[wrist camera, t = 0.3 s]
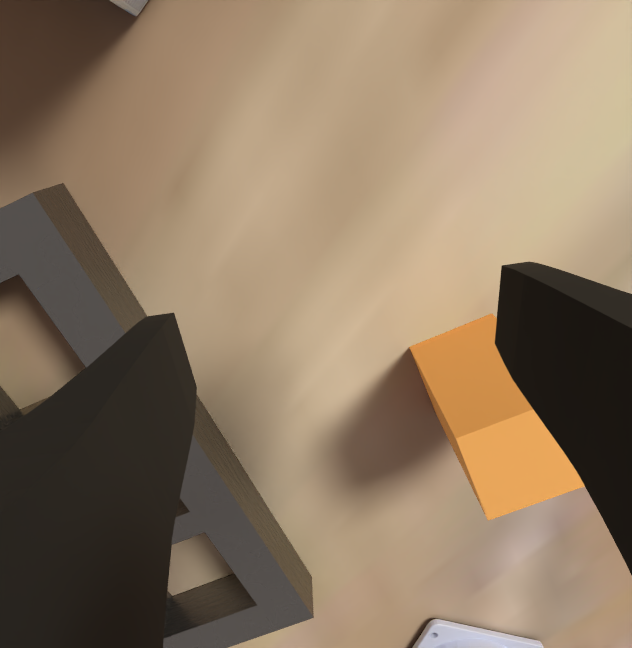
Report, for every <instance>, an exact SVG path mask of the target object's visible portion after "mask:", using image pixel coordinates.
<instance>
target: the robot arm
mask: <svg viewBox="0 0 632 648" xmlns="http://www.w3.org/2000/svg"><path fill="white" fill-rule="evenodd" d="M495 345H496V347H497V349H498V352H499V354H500V356H501V358H502V360H503V362H504V364H505V366H506V368H507V370H508V372H509V374H510V376H511V378H512V379H513V381H514V382H515V384H516V385H517V387H518V388H519V390H520V391H521V393H522V394H523V395H524V397H525V398H526V400H527V401H528V403H529V404H530V405H531V407H532V408H533V410H534V411H535V412H536V414H537V415H538V417H539V418H540V419H541V421H542V422H543V424H544V425H545V426H546V428H547V429H548V431H549V432H550V434H551V435H552V436H553V438H554V439H555V441H556V442H557V443H558V445H559V446H560V448H561V449H562V450H563V452H564V453H565V455H566V456H567V458H568V459H569V461H570V462H571V464H572V465H573V467H574V468H575V470H576V471H577V473H578V475H579V476H580V478H581V480H582V482H583V484H584V485H585V487H586V489H587V491H588V492H589V494H590V496H591V498H592V500H593V501H594V503H595V505H596V507H597V509H598V510H599V512H600V514H601V516H602V518H603V520H604V522H605V524H606V526H607V527H608V529H609V531H610V533H611V535H612V537H613V539H614V541H615V543H616V545H617V547H618V549H619V551H620V553H621V554H622V556H623V558H624V560H625V562H626V564H627V566H628V568H629V571H630V573H631V575H632V294H630V293H626V292H623V291H620V290H617V289H614V288H611V287H609V286H606V285H603V284H600V283H597V282H594V281H591V280H588V279H585V278H582V277H580V276H577V275H574V274H571V273H568V272H565V271H562V270H559V269H556V268H553V267H549V266H546V265H542V264H538V263H534V262H524V263H517V264H510V265H503V266H502V269H501V280H500V291H499V301H498V312H497V323H496V334H495ZM196 390H197V387H196V383H195V380H194V377H193V374H192V370H191V367H190V364H189V360H188V357H187V354H186V351H185V347H184V344H183V341H182V337H181V334H180V331H179V328H178V324H177V321H176V318H175V314H174V313H169V314H162V315H155V316H148V317H145V318H144V319H142V320H141V321H139V322H138V323H137V324H136V325H134V326H133V327H132V328H131V329H130V330H129V331H127V332H126V333H125V334H124V335H123V336H122V337H121V338H119V339H118V340H117V341H116V342H115V343H114V344H113V345H112V346H111V347H109V348H108V349H107V350H106V351H105V352H104V353H103V354H101V355H100V356H99V357H98V358H97V359H96V360H95V361H94V362H92V363H91V364H90V365H89V366H88V367H87V368H85V369H84V370H83V371H82V372H80V373H79V374H78V375H77V376H75V377H74V378H73V379H72V380H71V381H69V382H68V383H67V384H66V385H64V386H63V387H62V388H61V389H59V390H58V391H57V392H56V393H54V394H53V395H52V396H51V397H49V398H48V399H47V400H45V401H44V402H43V403H41V404H40V405H39V406H37V407H36V408H34V409H33V410H32V411H30V412H29V413H27V414H26V415H24V416H23V417H21V418H20V419H18V420H17V421H15V422H14V423H12V424H11V425H9V426H8V427H6V428H5V429H3V430H2V431H0V648H163V639H164V625H165V612H166V600H167V587H168V576H169V566H170V555H171V545H172V536H173V530H174V524H175V517H176V512H177V508H178V503H179V498H180V493H181V489H182V484H183V479H184V474H185V470H186V465H187V460H188V455H189V450H190V446H191V441H192V436H193V430H194V424H195V410H196ZM412 648H544V647H543V645H542V643H541V642H540V641H537V640H533V639H528V638H523V637H519V636H514V635H510V634H505V633H500V632H496V631H491V630H487V629H482V628H477V627H473V626H468V625H463V624H459V623H454V622H450V621H445V620H440V619H433V620H431V621H430V622H429V623H428V625H427V626H426V628H425V629H424V631H423V632H422V634H421V635H420V637H419V638H418V640H417V641H416V643H415V644H414V646H413V647H412Z"/></svg>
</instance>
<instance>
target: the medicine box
mask: <svg viewBox="0 0 632 648" xmlns="http://www.w3.org/2000/svg"><path fill="white" fill-rule="evenodd" d="M110 1H111V2H113V3H114V4H115V5H117V6H119V7H120V8H122V9H124V10H125V11H127V12H128V13H130V14H132V15H133V16H137V15H138V14H139V13H140V12H141V10H142V9H143V7H144V6H145V4H146V3H147V1H148V0H110Z"/></svg>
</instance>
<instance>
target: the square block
mask: <svg viewBox="0 0 632 648" xmlns="http://www.w3.org/2000/svg"><path fill="white" fill-rule="evenodd" d="M496 323H497V318H496V317H495V316H494V315H493V314H489V315H487V316H485V317H482V318H480V319H477V320H475V321H472V322H470V323H467V324H465V325H462V326H460V327H457V328H455V329H453V330H450V331H448V332H445V333H443V334H440V335H438V336H435V337H433V338H430V339H428V340H425V341H423V342H421V343H418V344H416V345H413V346H411V347H409V348H410V350H411V353H412V355H413V358H414V360H415V363H416V365H417V368H418V370H419V372H420V375H421V377H422V380H423V382H424V385H425V387H426V390H427V392H428V395H429V397H430V400H431V402H432V405H433V407H434V410H435V412H436V414H437V417H438V419H439V421H440V423H441V425H442V427H443V429H444V431H445V433H446V435H447V437H448V439H449V441H450V443H451V445H452V447H453V449H454V452H455V454H456V456H457V458H458V460H459V462H460V464H461V466H462V468H463V470H464V472H465V474H466V476H467V478H468V480H469V482H470V485H471V487H472V489H473V491H474V493H475V495H476V497H477V499H478V501H479V503H480V505H481V507H482V509H483V511H484V513H485V515H486V517H487V520H491V519H494V518H497V517H499V516H502V515H505V514H508V513H511V512H513V511H516V510H519V509H522V508H525V507H527V506H530V505H533V504H536V503H539V502H542V501H544V500H547V499H550V498H553V497H556V496H558V495H561V494H564V493H567V492H570V491H573V490H575V489H578V488H581V487H584V486H585V485H584V484H583V482H582V480H581V478H580V476H579V475H578V473H577V471H576V470H575V468H574V467H573V465H572V464H571V462H570V461H569V459H568V458H567V456H566V455H565V453H564V452H563V450H562V449H561V448H560V446H559V445H558V443H557V442H556V441H555V439H554V438H553V436H552V435H551V434H550V432H549V431H548V429H547V428H546V426H545V425H544V424H543V422H542V421H541V419H540V418H539V417H538V415H537V414H536V412H535V411H534V410H533V408H532V407H531V405H530V404H529V403H528V401H527V400H526V398H525V397H524V395H523V394H522V393H521V391H520V390H519V388H518V387H517V385H516V384H515V382H514V381H513V379H512V378H511V376H510V374H509V372H508V370H507V368H506V366H505V364H504V362H503V360H502V358H501V356H500V354H499V352H498V349H497V347H496V345H495V334H496Z"/></svg>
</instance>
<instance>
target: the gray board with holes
mask: <svg viewBox="0 0 632 648" xmlns="http://www.w3.org/2000/svg"><path fill="white" fill-rule="evenodd" d="M18 274H19V275H20V277H21V278H22V279H23V281H24V282H25V284H26V285H27V286H28V288H29V289H30V291H31V292H32V293H33V295H34V296H35V297H36V299H37V300H38V302H39V303H40V304H41V306H42V307H43V309H44V310H45V311H46V313H47V314H48V315H49V317H50V318H51V320H52V321H53V322H54V324H55V325H56V327H57V328H58V329H59V331H60V332H61V333H62V335H63V336H64V338H65V339H66V340H67V342H68V343H69V345H70V346H71V347H72V349H73V350H74V352H75V353H76V354H77V356H78V357H79V358H80V360H81V361H82V363H83V364H84V365H85V367H86V368H87V367H88V366H89V365H90V364H91V363H92V362H94V361H95V360H96V359H97V358H98V357H99V356H100V355H101V354H103V353H104V352H105V351H106V350H107V349H108V348H109V347H111V346H112V345H113V344H114V343H115V342H116V341H117V340H118V339H119V338H121V337H122V336H123V335H124V334H125V333H126V332H127V331H129V330H130V329H131V328H132V327H133V326H134V325H136V324H137V323H138V322H139V321H141V320H142V319H144V318H145V317H147V315H146V314H145V312H144V310H143V309H142V307H141V306H140V304H139V303H138V301H137V299H136V298H135V296H134V295H133V293H132V291H131V290H130V288H129V287H128V285H127V284H126V282H125V280H124V279H123V277H122V276H121V274H120V272H119V271H118V269H117V268H116V266H115V265H114V263H113V261H112V260H111V258H110V257H109V255H108V253H107V252H106V250H105V249H104V247H103V245H102V244H101V242H100V241H99V239H98V238H97V236H96V234H95V233H94V231H93V230H92V228H91V226H90V225H89V223H88V222H87V220H86V219H85V217H84V215H83V214H82V212H81V211H80V209H79V207H78V206H77V204H76V203H75V201H74V200H73V198H72V196H71V195H70V193H69V192H68V190H67V188H66V187H65V185H64V184H63V183H62V184H59V185H56V186H52V187H49V188H46V189H43V190H40V191H37V192H33V193H31V194H29V195H27V196H25V197H23V198H21V199H19V200H17V201H15V202H13V203H11V204H9V205H7V206H5V207H3V208H1V209H0V283H1V282H3V281H5V280H7V279H10V278H12V277H14V276H16V275H18ZM48 398H49V397H48ZM48 398H46V399H44V400H41V401H39V402H37V403H35V404H32V405H30V406H28V407H25V408H23V409H21V410H19V409H18V407H17V406H16V405H15V404H14V403H13V401H12V400H11V399H10V398H9V396H8V395H7V394H6V393H5V392H4V390H3V389H2V388H1V387H0V431H2V430H3V429H5V428H6V427H8V426H9V425H11V424H12V423H14V422H15V421H17V420H18V419H20V418H21V417H23V416H24V415H26V414H27V413H29V412H30V411H32V410H33V409H34V408H36V407H37V406H39V405H40V404H41V403H43V402H44V401H45V400H47V399H48ZM204 532H205V533H206V535H207V536H208V537H209V539H210V540H211V542H212V543H213V544H214V546H215V547H216V548H217V550H218V551H219V553H220V554H221V555H222V557H223V558H224V560H225V561H226V562H227V564H228V565H229V567H230V568H231V569H232V571H233V572H234V573H235V574H233V575H230V576H227V577H225V578H222V579H219V580H217V581H214V582H211V583H208V584H206V585H203V586H200V587H197V588H195V589H192V590H189V591H186V592H184V593H181V594H178V595H175V596H173V597H172V596H171V594H170V593H169V592H168V591H167V600H166V612H165V625H164V639H163V648H228V647H231V646H233V645H236V644H239V643H242V642H245V641H248V640H251V639H254V638H256V637H259V636H262V635H265V634H268V633H271V632H274V631H277V630H280V629H282V628H285V627H288V626H291V625H294V624H297V623H300V622H303V621H305V620H308V619H311V618H314V616H313V595H312V577H311V575H310V573H309V572H308V570H307V569H306V567H305V566H304V564H303V562H302V561H301V559H300V558H299V556H298V554H297V553H296V551H295V550H294V548H293V547H292V545H291V543H290V542H289V540H288V539H287V537H286V535H285V534H284V532H283V531H282V529H281V528H280V526H279V524H278V523H277V521H276V520H275V518H274V516H273V515H272V513H271V512H270V510H269V509H268V507H267V505H266V504H265V502H264V501H263V499H262V497H261V496H260V494H259V493H258V491H257V490H256V488H255V486H254V485H253V483H252V482H251V480H250V478H249V477H248V475H247V474H246V472H245V470H244V469H243V467H242V466H241V464H240V463H239V461H238V459H237V458H236V456H235V455H234V453H233V451H232V450H231V448H230V447H229V445H228V444H227V442H226V440H225V439H224V437H223V436H222V434H221V432H220V431H219V429H218V428H217V426H216V425H215V423H214V421H213V420H212V418H211V417H210V415H209V413H208V412H207V410H206V409H205V407H204V406H203V404H202V402H201V401H200V399H199V398H198V396H197V394H196V410H195V424H194V430H193V436H192V441H191V446H190V450H189V455H188V460H187V465H186V470H185V474H184V479H183V484H182V489H181V493H180V498H179V503H178V508H177V512H176V517H175V524H174V530H173V536H172V544H175V543H178V542H180V541H183V540H186V539H188V538H191V537H194V536H196V535H199V534H201V533H204Z"/></svg>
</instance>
